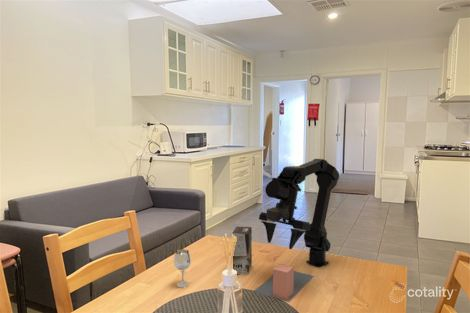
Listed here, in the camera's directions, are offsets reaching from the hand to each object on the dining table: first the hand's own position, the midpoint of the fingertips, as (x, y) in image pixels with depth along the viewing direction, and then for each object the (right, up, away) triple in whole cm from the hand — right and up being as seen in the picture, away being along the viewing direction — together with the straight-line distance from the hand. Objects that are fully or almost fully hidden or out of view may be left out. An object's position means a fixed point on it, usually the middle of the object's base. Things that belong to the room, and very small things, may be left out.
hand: (279, 245), depth 118 cm
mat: (+2, -14, +1) cm, 14 cm away
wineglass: (-34, -14, +2) cm, 37 cm away
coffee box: (-13, -13, +13) cm, 23 cm away
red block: (0, -14, -7) cm, 16 cm away
